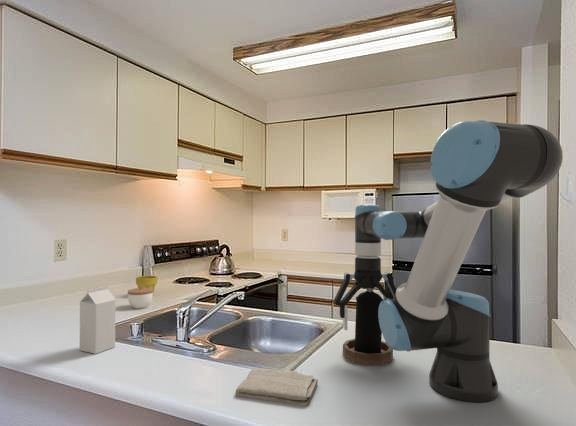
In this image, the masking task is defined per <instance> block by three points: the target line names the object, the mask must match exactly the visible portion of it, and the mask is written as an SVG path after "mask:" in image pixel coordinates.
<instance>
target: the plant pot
mask: <svg viewBox="0 0 576 426" xmlns="http://www.w3.org/2000/svg"><path fill="white" fill-rule="evenodd" d="M157 284H158V275H140V276H137V277H135V285H136V286H137V288H139V286H142V288H151V289H153V295H154V294H155V289H156V285H157Z"/></svg>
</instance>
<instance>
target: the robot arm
mask: <svg viewBox="0 0 576 426" xmlns="http://www.w3.org/2000/svg"><path fill="white" fill-rule="evenodd" d="M434 144H435V145H434V146H433V149H432V153H431V155H430V156H431V157H430V163H431V164H432V165H431V167H430V172H431V176H432V178H433V180H434V181H435V184H434V187H435V189H436V191H437V193H438V194H439V197H438V199H437V201H435V202H434V203H432V204H431V205H429V206H427V207H426V208H425V209H423V210H420V211H419V210H418V211H410V210H409V211H408V210H407V211H397V210H396V211H394V210H382V207H381V206H380V205H378V204H358V205H356V207H355V212H354V213H355V214H354V237H355V240H354V243H355V244H354V255H355V256H356V257H355V258H354V273H348V272H344V274H343V280H342V282H341V285H340V287H339V289H338V290H337V292H336V294H335V297H334V298H333V304H334V305H335V306H339V317H340V318H341V319H342V328H343V330H345V331H348V322H349V321H348V316H349V315H348V307H347V304H349V302H350V301H351V300H352V299H353V297H354V296H355V295H356V294H357V293H358V291H359V290H361V288H362V289H363V290H364V289H366V290H367V288H371V289H373V290H374V289H375V288H376V289H377V290H378V291H379V292H380V293H381V295H382V297H384V299H383V301H382V302H381V303H380V305H379V310H378V318H379V324H380V329H381V332H382V336H383V339H384V342H386V343H387V344H388V345H389V346H390V347H391V348H392V349H393V351H397V352H412V351H422V350H430V349H436V354H435V356H434V359H433V362H432V365H431V369H430V371H429V373H428V374H429V375H428V377H429V381H428V382H429V385H430V387H431V388H432V389H433V390H434V391H436V392H437V393H439V394H441V395H444V397H448V398H451V399H455V400H457V401H463V402H471V403H484V402H490V401H494V400H496V398H498V395H499V383H498V381H497V378H496V374H495V371H494V369H493V367H492V363H491V359H490V335H491V332H490V331H491V330H490V328H491V314H490V303H489V300H488V299H487V298H486V297H484V296H482V295H479V294H476V293H471V292H466V291H461V290H456V289H455V290H454V289H451V288H452V286H453V283H454V282H455V279H456V278H457V274H458V273H459V271H460V269H461V266H462V264H463V262H464V260H465V257H466V255H467V253H468V251H469V249H470V247H471V244H472V242H473V240H474V237H475V236H476V233H477V231H478V230H479V226H480V224H481V222H482V221H483V218H484V216H485V214H486V212H487V211H489V210H492V209H496V208H497V207H498V206H500V204H501V203H502V202H504V201H507V200H508V199H510V198H513V199H520V198H524V197H525V196H528V195H529V194H533V193H534V192H536V191H538V190H540V189H542V188H544V187H545V186H546V185H548V184H549V183H550V182H551V181H553V179H555V177H556V175H557V174H558V173H559V171H560V169H561V167H562V163H563V156H564V155H563V149H562V146H561V143H560V142H559V140H558V138H557V137H556V136H555V135H554V134H553V133H552V132H551V131H549V130H547V129H546V128H544V127H541V126H539V125H534V124H519V123H518V124H517V123H508V122H507V123H506V122H497V121H487V120H483V119H482V120H473V121H472V120H470V121H467V120H466V121H459V122H457V123H455V124H453V125H452V126H449V127H447V129H445V130H444V131H443V132H442V133H441V135H440V136H439V137H438V139H437V140H436V142H435V143H434ZM381 239H382V240H385V241H389V240H391V241H393V240H398V239H403V240H404V239H407V240H409V239H422V241H421V244H420V247H419V249H418V252H417V255H416V257H415V260H414V263H413V265H412V268H411V271H410V274H409V275H408V278H407V281H406V282H403V283H402V284H400V285H399V286H398V287H397V288H396V286H395V284H394V282H393V278H392V276H393V275H392V274H391V273H390V272H388V271H387V272H386V271H385V272H383V273H382V271H381V270H382V269H381V268H382V265H381V264H382V262H381V261H382V259H381V255H382V247H381V246H382V240H381ZM353 279H354V280H355V282H354V283H353V284H352V286H351V288H350V289H349V291H348V292H347V293H346V291H347V288H348V286H349V285H350V282H351V281H353ZM382 279H383V280H384V281H386V284H387V287H388V289H389V290H390V292H391V294H392V296H393V298H392V296H391V295H390V294H389V293H388V291H387V290H386V289H385V288H384V287H383V285H382V284H381V283H380V282H381V281H382ZM345 293H346V294H345ZM344 294H345V295H344Z"/></svg>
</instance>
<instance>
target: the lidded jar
mask: <svg viewBox="0 0 576 426" xmlns="http://www.w3.org/2000/svg"><path fill="white" fill-rule="evenodd" d="M153 296H154V294H153V289H151V288H142V286H139V288H138V287H137V288H132V289H128V290H127V298H128V303H129V305H130V306H131V307H132V308H133V309H136V310H141V309H146V308H148V307H149V306H150V305H151V303H152V301H153V298H154V297H153Z"/></svg>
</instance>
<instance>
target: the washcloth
mask: <svg viewBox="0 0 576 426" xmlns="http://www.w3.org/2000/svg"><path fill="white" fill-rule="evenodd" d="M314 376H315V375H311V374H309V375H308V374H303V373H299V372H298V371H296V370H282V369H273V368H262V367H257V368H253V369H251V370H250V371H249V373H248V375H247V377H246V378H245V379H244V380H243V381H241V383H240V384H239V385H238V386H237V388H236V389H235V396H237V397H242V398H249V399H256V400H261V401H262V400H264V401H272V402H279V403H287V404H292V405H300V406H305V407H306V406H308V404H309V402H311V401H312V398H313V396H314V393H315V391H316V388H317V387H318V383H319V381H318V379H317V378H315V377H314Z"/></svg>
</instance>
